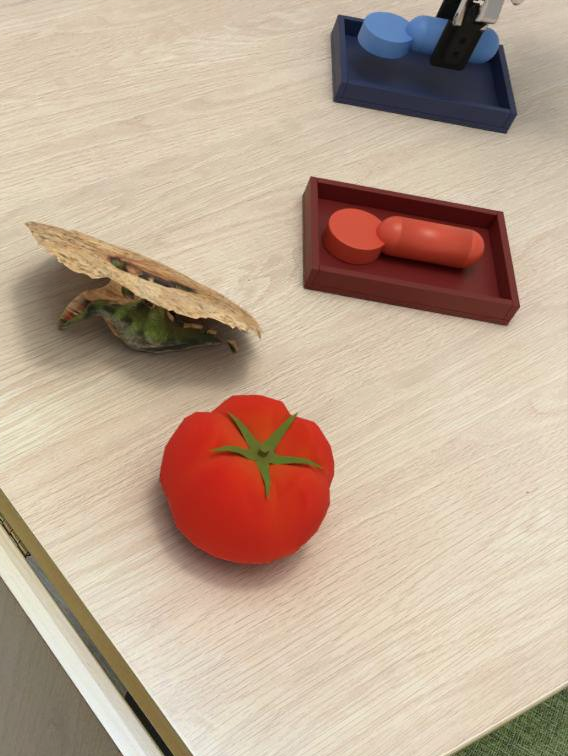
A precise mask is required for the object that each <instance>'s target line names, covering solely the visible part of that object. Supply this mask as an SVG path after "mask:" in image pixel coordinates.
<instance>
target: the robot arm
mask: <svg viewBox="0 0 568 756" xmlns="http://www.w3.org/2000/svg"><path fill="white" fill-rule="evenodd" d="M479 1H480V0H442V2H441V4H440V6H439V8H438V11H437V13H436V15H435V17H437V18H442V19H447V20H448V22H447V24H446V26H445V28H444V30H443V32H442V34H441V36H440V38H439V40H438V43H437V45H436V47H435V49H434V51H433V53H432V55H431V57H430V64H431V65H432V66H436V67H441V68H447V69H452V70H457V71H462V70H463V69H464V68H465V67H466V65H467V63H468V61H469V59H470V57H471V55H472V53H473V51H474V49H475V47H476V45H477V43H478V42H479V40H480V38H481V36H482V34H483V32H485V30H486V29H487V27H488V28H489V25H496V23H497V22H498V19H499V17H500V14H501V11H502V8H503V6H504V3H505V0H481V1H483V3H482V4H481V3H480V2H479ZM525 1H526V0H510V2H511V4H512V5H513V6H516V7H518V6H520V5H522V4H523V3H524V2H525Z"/></svg>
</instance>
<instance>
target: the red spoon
mask: <svg viewBox="0 0 568 756" xmlns="http://www.w3.org/2000/svg"><path fill="white" fill-rule="evenodd" d="M322 241H323V244H324V246H325V248H326V249H327V251H328V252H329V253H330V254H332V255H333V256H334V257H336V258H337V259H339V260H341V261H344V262H346V263H350V264H356V265H363V264H368V263H371V262H373V261H375V260H376V259H377V258H378V257H379V255H380V253H381V252H382V253H383V254H386V255H389V256H394V257H400V258H405V259H411V260H416V261H422V262H427V263H432V264H438V265H443V266H449V267H454V268H468V267H471V266H472V265H474V264H476V263H477V262H478V261H479V260H480V258H481V257H482V255H483V252H484V241H483V239H482V237H481V235H480V234H478V233H477V232H476V231H474V230H471V229H465V228H460V227H455V226H449V225H444V224H438V223H433V222H428V221H422V220H417V219H411V218H406V217H401V216H393V217H389V218H387V219H385V220H383V221H382V222H381V221H380V220H379V219H378V218H377V217H375V216H374V215H372V214H370V213H368V212H366V211H363V210H359V209H351V208H349V209H342V210H339V211H336V212H335V213H334V214H332V215H331V217H330V219H329V221H328V223H327V225H326V227H325V230H324V232H323V235H322Z"/></svg>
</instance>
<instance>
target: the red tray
mask: <svg viewBox="0 0 568 756" xmlns="http://www.w3.org/2000/svg"><path fill="white" fill-rule="evenodd" d="M349 208H351V209H359V210H363V211H366V212H368V213H370V214H372V215H374V216H375V217H377V218H378V219H379V220H380V221H381V222H382V221H383V220H385V219H387V218H389V217H393V216H401V217H406V218H411V219H417V220H422V221H428V222H433V223H438V224H444V225H449V226H455V227H460V228H465V229H471V230H474V231H476V232H477V233H478V234H480V235H481V237H482V239H483V241H484V252H483V255H482V257H481V258H480V260H479V261H478V262H477V263H476V264H474V265H472V266H471V267H468V268H454V267H449V266H443V265H438V264H432V263H427V262H422V261H416V260H411V259H405V258H400V257H394V256H389V255H386V254H383V253H382V252H381V253H380V255H379V257H378V258H377V259H376V260H375V261H373V262H371V263H368V264H363V265H356V264H350V263H346V262H344V261H341V260H339V259H337V258H336V257H334V256H333V255H332V254H330V253H329V252H328V251H327V249H326V248H325V246H324V244H323V241H322V235H323V232H324V230H325V227H326V225H327V223H328V221H329V219H330V217H331V215H332V214H334V213H335V212H336V211H339V210H342V209H349ZM509 241H510V240H509V236H508V231H507V224H506V217H505V213H504V211H502V210H496V209H492V208H485V207H481V206H480V207H479V206H475V205H468V204H463V203H458V202H453V201H447V200H443V199H437V198H431V197H426V196H421V195H415V194H410V193H404V192H399V191H394V190H388V189H383V188H377V187H373V186H372V187H371V186H367V185H362V184H356V183H350V182H344V181H340V180H333V179H329V178H323V177H317V176H313V175H311V176H310V177H309V179H308V181H307V183H306V186H305V188H304V191H303V193H302V266H303V267H302V276H303V277H302V279H303V281H302V283H303V284H302V285H303V286H302V287H303V289H308V290H313V291H319V292H325V293H330V294H335V295H340V296H346V297H352V298H356V299H362V300H367V301H373V302H379V303H384V304H389V305H393V306H394V305H395V306H400V307H405V308H410V309H416V310H421V311H426V312H433V313H438V314H442V315H443V314H444V315H449V316H456V317H459V318H465V319H471V320H475V321H476V320H477V321H482V322H487V323H494V324H499V325H502V326H503V325H504V326H508V325H509V324H510V322H511V321H512V319H513V318H514V316H515V315H516V314H517V313H518V311H519V309H520V308H521V302H520V297H519V292H518V286H517V280H516V273H515V270H514V264H513V258H512V257H513V256H512V252H511V247H510V242H509Z"/></svg>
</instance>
